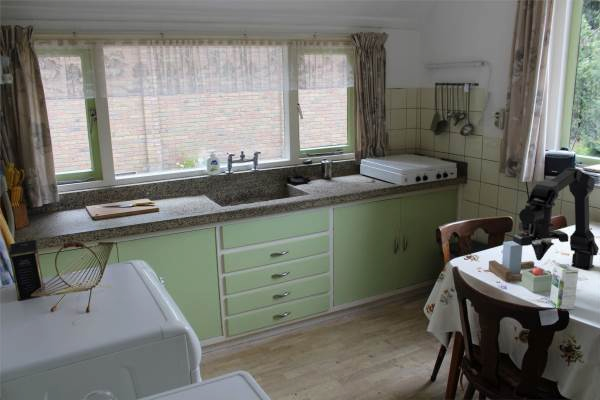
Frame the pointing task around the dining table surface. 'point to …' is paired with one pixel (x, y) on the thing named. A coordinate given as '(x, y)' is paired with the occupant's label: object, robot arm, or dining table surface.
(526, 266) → the rails
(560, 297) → the syrup box
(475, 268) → the dining table surface
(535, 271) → the gauge button
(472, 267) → the dining table surface
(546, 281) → the pale green box
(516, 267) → the pale blue upright block
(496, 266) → the bar
